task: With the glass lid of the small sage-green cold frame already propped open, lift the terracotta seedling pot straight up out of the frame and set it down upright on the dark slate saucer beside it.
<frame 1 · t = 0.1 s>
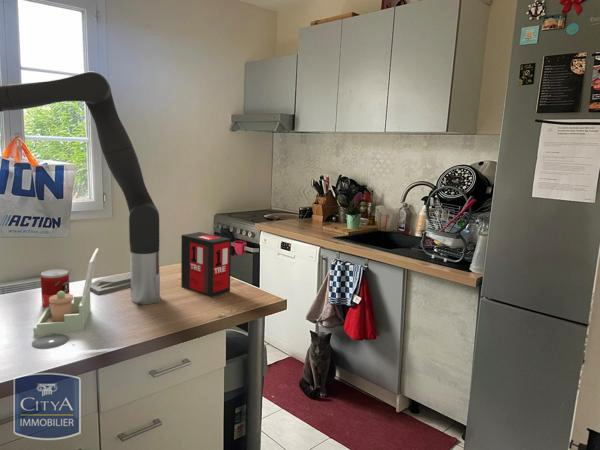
slate saucer: (50, 343, 115), on the counter
cold frame: (64, 323, 127), on the counter
glass lid: (90, 274, 127), point 14 cm above the counter, hinge at 102.0°
canned food: (56, 306, 140), on the counter
soap mold: (117, 287, 163), on the counter
cleaning product box: (205, 289, 163), on the counter
terracotta pot: (62, 321, 127), point 1 cm above the counter, touching cold frame
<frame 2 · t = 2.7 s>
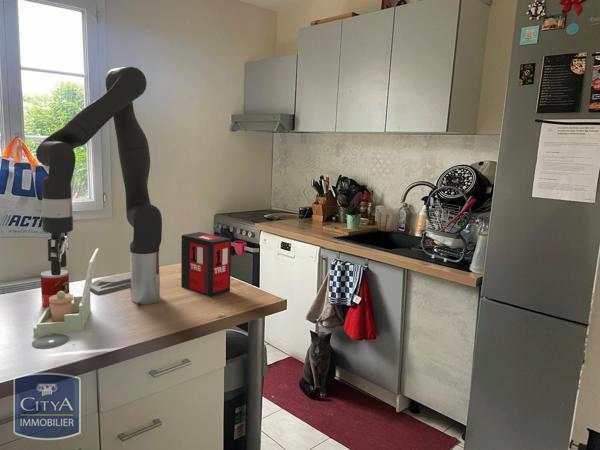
hand: (59, 270, 124), 16 cm above the counter, fingers open, 8 cm apart
nothing on the counter moved.
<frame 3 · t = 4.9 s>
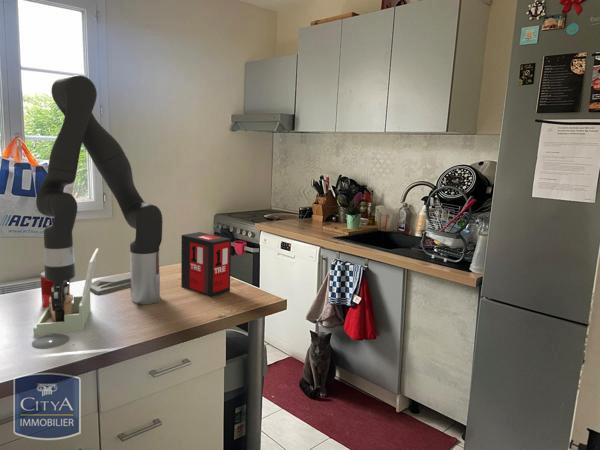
hand: (62, 318, 127), 2 cm above the counter, fingers closed on terracotta pot, 5 cm apart
terracotta pot: (62, 321, 127), point 1 cm above the counter, touching cold frame, gripper
everything else where it was.
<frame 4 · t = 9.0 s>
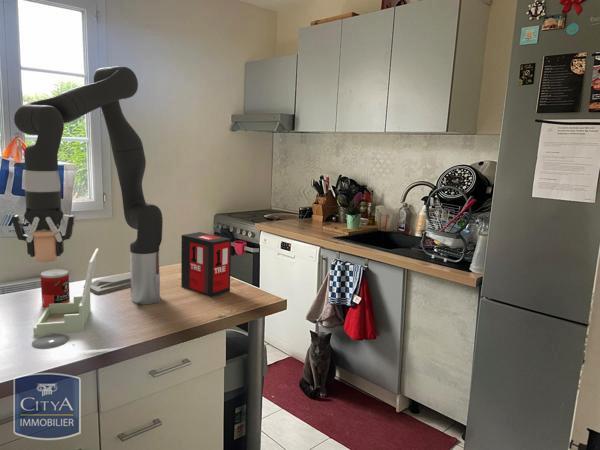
hand: (46, 255, 110), 24 cm above the counter, fingers closed on terracotta pot, 5 cm apart
terracotta pot: (46, 259, 111), point 23 cm above the counter, touching gripper
everything else where it was.
when the fingers open (3 cm above the counter, at t = 13.4 s): terracotta pot drops 1 cm, resting on slate saucer.
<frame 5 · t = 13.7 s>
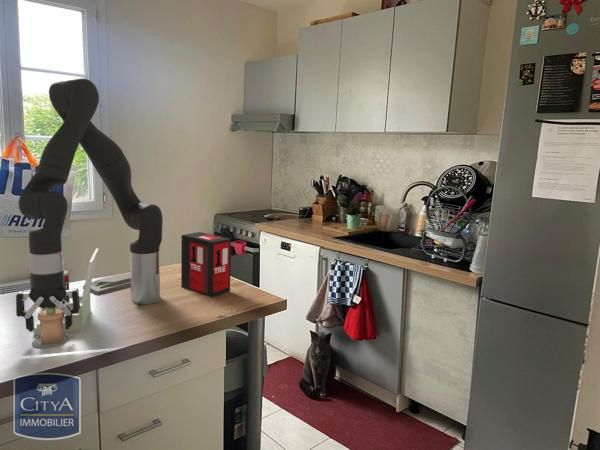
hand: (50, 329, 114), 4 cm above the counter, fingers open, 8 cm apart
terracotta pot: (52, 340, 115), point 1 cm above the counter, touching slate saucer
everything else where it was.
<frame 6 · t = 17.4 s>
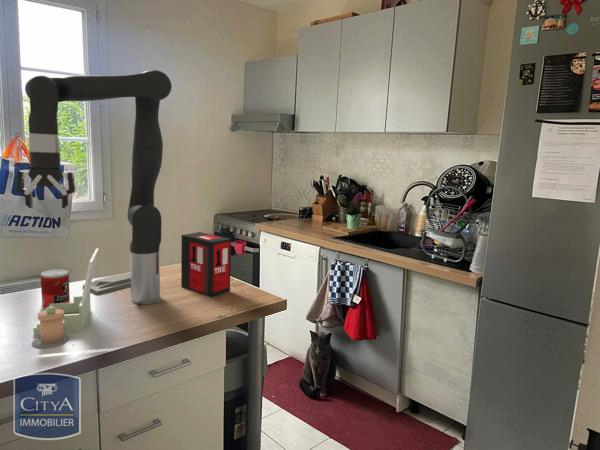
hand: (47, 207, 126), 33 cm above the counter, fingers open, 8 cm apart
nothing on the counter moved.
at the end: terracotta pot 0.4 cm from the slate saucer (horizontally); terracotta pot tilted 0°; terracotta pot point 0.8 cm above the counter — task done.
